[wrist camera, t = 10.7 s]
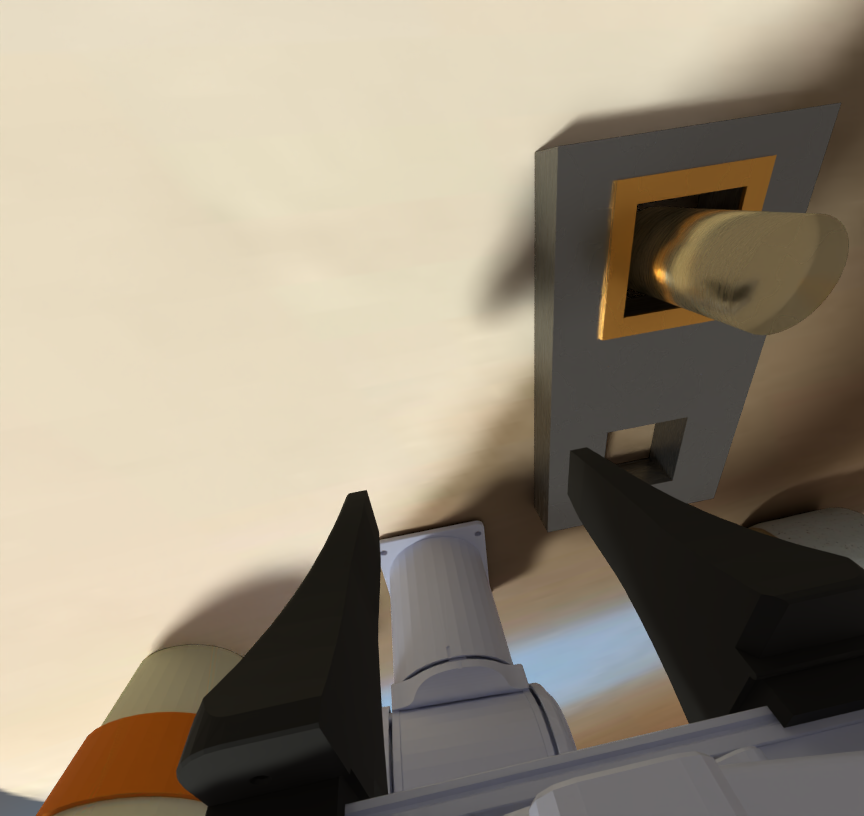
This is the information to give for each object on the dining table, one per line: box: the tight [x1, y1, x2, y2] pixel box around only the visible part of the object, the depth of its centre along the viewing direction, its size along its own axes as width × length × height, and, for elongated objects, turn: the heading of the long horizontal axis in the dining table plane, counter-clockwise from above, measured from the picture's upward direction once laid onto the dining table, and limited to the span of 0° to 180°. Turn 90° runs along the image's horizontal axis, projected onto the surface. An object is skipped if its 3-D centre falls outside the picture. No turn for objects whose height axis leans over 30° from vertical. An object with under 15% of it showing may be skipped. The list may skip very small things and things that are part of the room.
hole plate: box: [534, 103, 841, 532], centre depth 22 cm, size 22×12×3 cm, turn 8°
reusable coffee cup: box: [36, 645, 242, 816], centre depth 26 cm, size 13×13×15 cm
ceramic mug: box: [748, 508, 864, 569], centre depth 31 cm, size 11×8×8 cm
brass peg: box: [627, 207, 849, 335], centre depth 17 cm, size 4×4×8 cm
